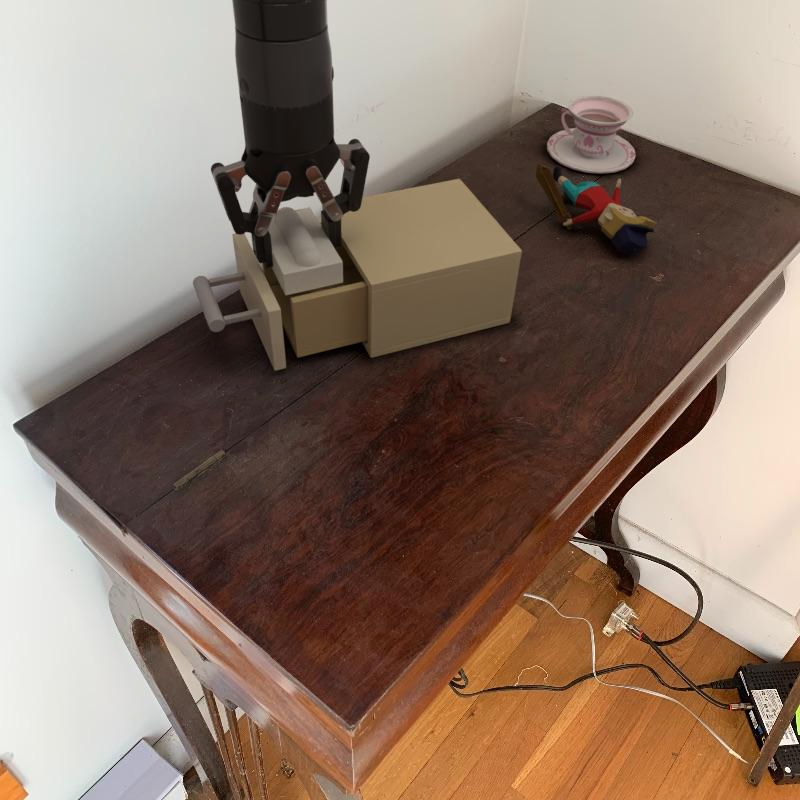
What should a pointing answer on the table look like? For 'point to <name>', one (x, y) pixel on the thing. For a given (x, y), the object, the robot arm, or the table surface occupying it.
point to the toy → (597, 209)
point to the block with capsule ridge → (302, 252)
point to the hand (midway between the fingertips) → (298, 255)
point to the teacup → (593, 136)
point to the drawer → (291, 307)
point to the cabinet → (430, 265)
